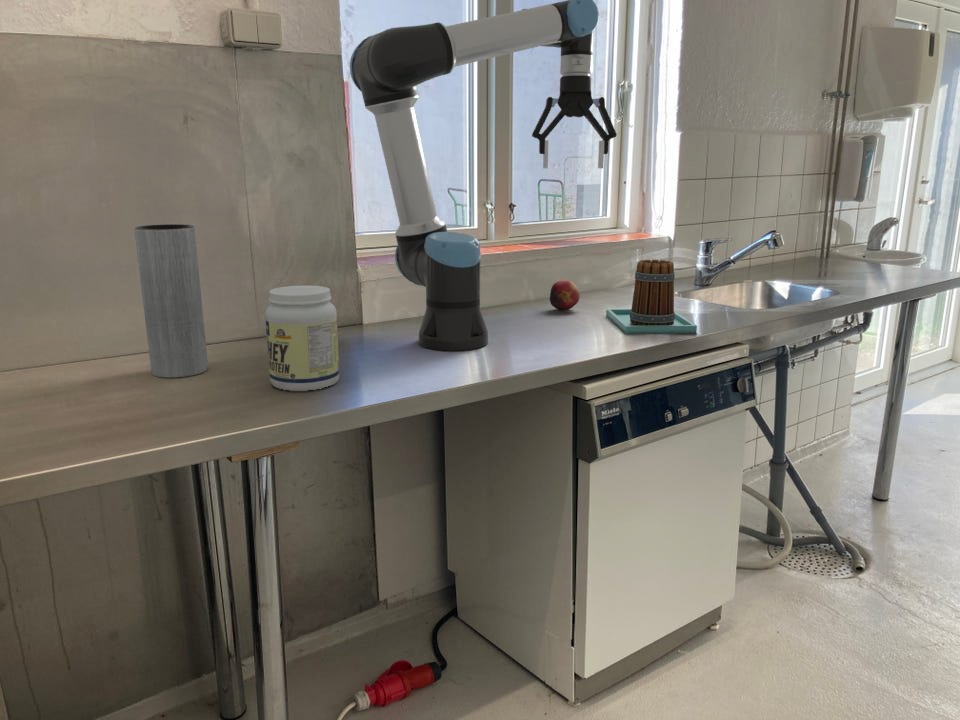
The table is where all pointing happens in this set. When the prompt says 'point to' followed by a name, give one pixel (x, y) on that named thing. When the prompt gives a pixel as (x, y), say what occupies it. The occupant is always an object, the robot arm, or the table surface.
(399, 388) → the table surface
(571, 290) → the fruit
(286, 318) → the supplement tub
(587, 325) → the table surface
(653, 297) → the mug
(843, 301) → the table surface
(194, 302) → the vase
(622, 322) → the tray
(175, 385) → the table surface
